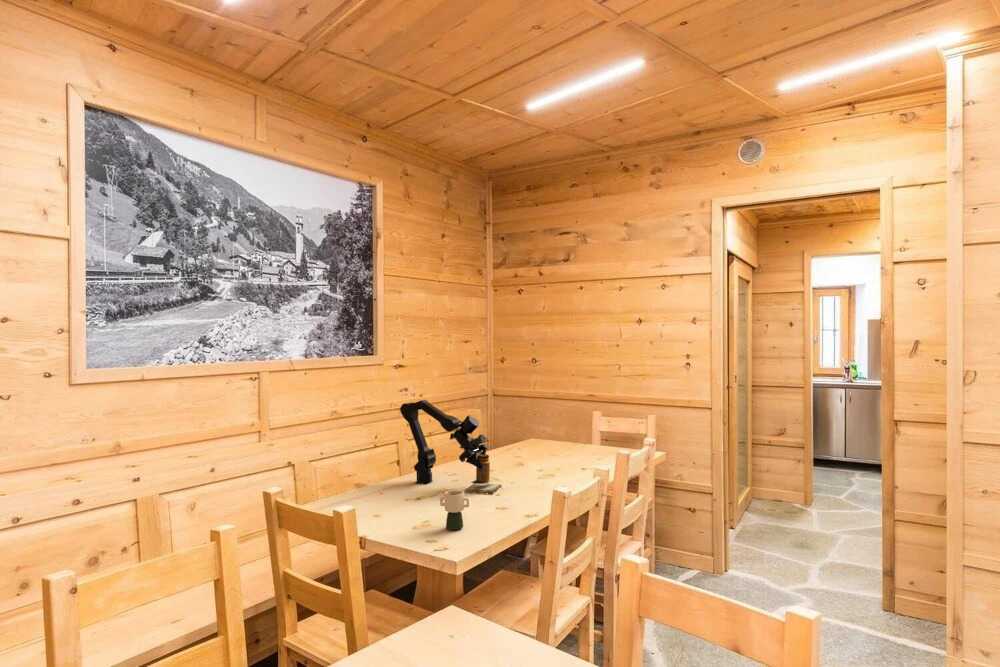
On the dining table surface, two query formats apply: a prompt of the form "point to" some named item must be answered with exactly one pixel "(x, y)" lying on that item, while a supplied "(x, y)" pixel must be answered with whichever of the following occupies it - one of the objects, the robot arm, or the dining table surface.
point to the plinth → (483, 488)
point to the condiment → (483, 470)
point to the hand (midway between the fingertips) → (485, 467)
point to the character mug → (454, 508)
